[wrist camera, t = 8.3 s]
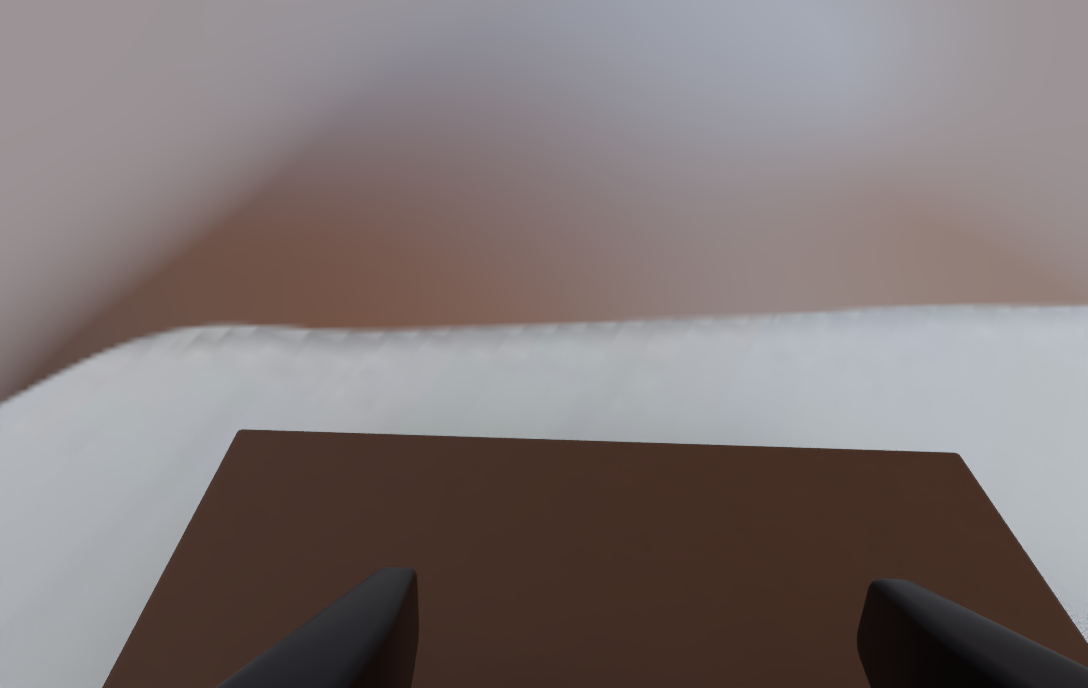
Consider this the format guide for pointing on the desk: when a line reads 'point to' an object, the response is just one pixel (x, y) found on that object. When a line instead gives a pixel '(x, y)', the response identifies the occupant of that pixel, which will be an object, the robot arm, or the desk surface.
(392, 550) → the lid
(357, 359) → the desk surface
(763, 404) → the desk surface
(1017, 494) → the desk surface
